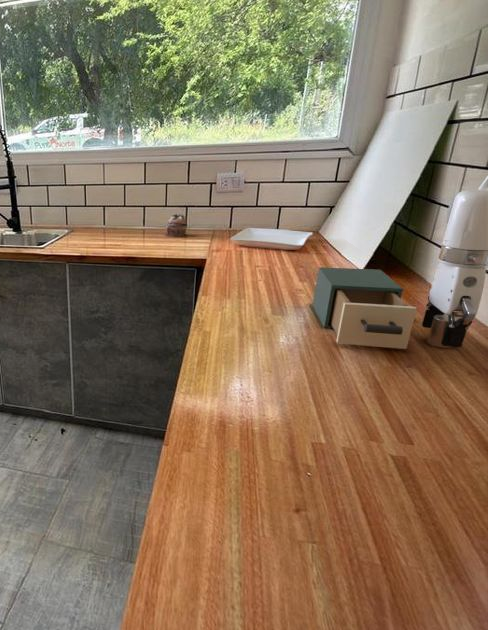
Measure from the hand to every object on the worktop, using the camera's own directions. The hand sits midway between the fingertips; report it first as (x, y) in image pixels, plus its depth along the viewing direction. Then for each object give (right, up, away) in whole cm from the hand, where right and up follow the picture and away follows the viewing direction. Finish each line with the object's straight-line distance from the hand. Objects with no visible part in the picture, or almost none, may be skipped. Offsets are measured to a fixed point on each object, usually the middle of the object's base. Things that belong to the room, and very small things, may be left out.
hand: (440, 336), depth 93 cm
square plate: (+7, +34, +94) cm, 100 cm away
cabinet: (-9, +3, +15) cm, 18 cm away
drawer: (-13, 0, +4) cm, 14 cm away
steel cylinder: (0, -2, +1) cm, 2 cm away
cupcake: (-27, +41, +116) cm, 126 cm away
